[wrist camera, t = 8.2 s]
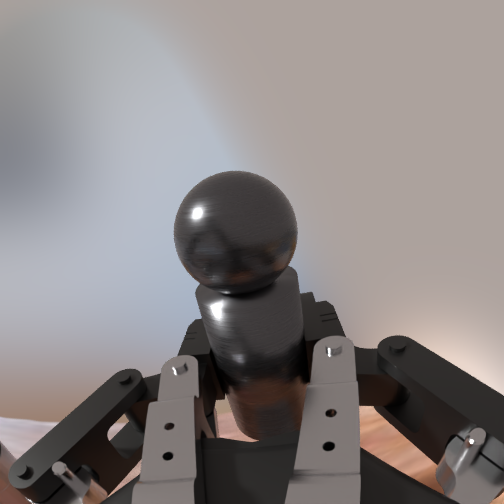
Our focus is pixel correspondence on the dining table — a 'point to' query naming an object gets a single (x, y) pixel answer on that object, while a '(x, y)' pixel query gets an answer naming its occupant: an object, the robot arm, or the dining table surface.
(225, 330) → the plunger
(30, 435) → the dining table surface
